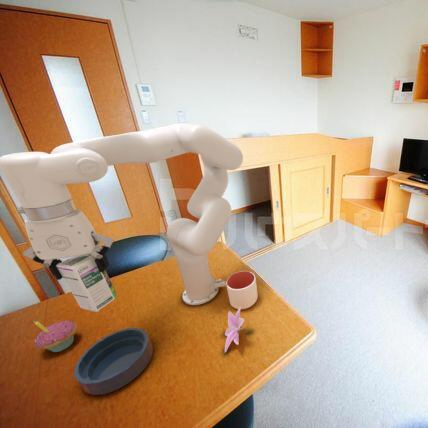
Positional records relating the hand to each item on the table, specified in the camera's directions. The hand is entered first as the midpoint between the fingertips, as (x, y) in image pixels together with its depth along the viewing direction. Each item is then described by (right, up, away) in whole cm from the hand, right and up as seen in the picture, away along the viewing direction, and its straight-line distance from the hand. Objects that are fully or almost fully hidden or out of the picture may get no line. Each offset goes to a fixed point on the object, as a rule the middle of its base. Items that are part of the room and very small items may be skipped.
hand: (83, 272), depth 60 cm
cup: (+32, -18, +29) cm, 46 cm away
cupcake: (-18, -25, +12) cm, 33 cm away
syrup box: (0, -10, +5) cm, 11 cm away
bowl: (+4, -28, +7) cm, 29 cm away
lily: (+34, -25, +15) cm, 44 cm away
